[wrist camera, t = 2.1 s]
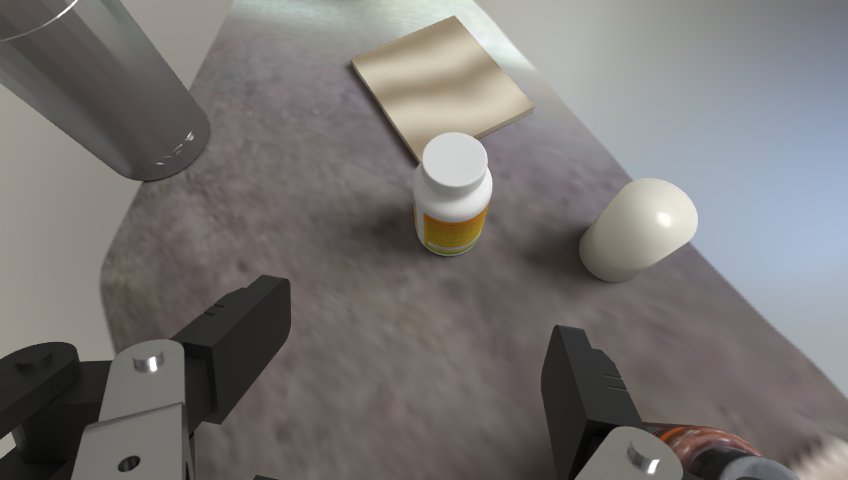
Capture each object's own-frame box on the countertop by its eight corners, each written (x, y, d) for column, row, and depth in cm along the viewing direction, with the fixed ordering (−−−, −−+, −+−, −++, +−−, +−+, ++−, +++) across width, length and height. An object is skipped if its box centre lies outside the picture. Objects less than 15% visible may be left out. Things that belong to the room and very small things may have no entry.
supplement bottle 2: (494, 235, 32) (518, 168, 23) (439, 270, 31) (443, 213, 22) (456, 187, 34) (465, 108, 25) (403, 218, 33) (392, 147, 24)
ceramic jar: (566, 256, 32) (601, 216, 25) (599, 212, 33) (639, 165, 27) (623, 295, 30) (675, 264, 24) (654, 248, 32) (711, 207, 25)
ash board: (351, 65, 40) (350, 59, 39) (453, 22, 42) (454, 15, 41) (421, 167, 35) (420, 162, 34) (532, 112, 37) (534, 106, 37)
